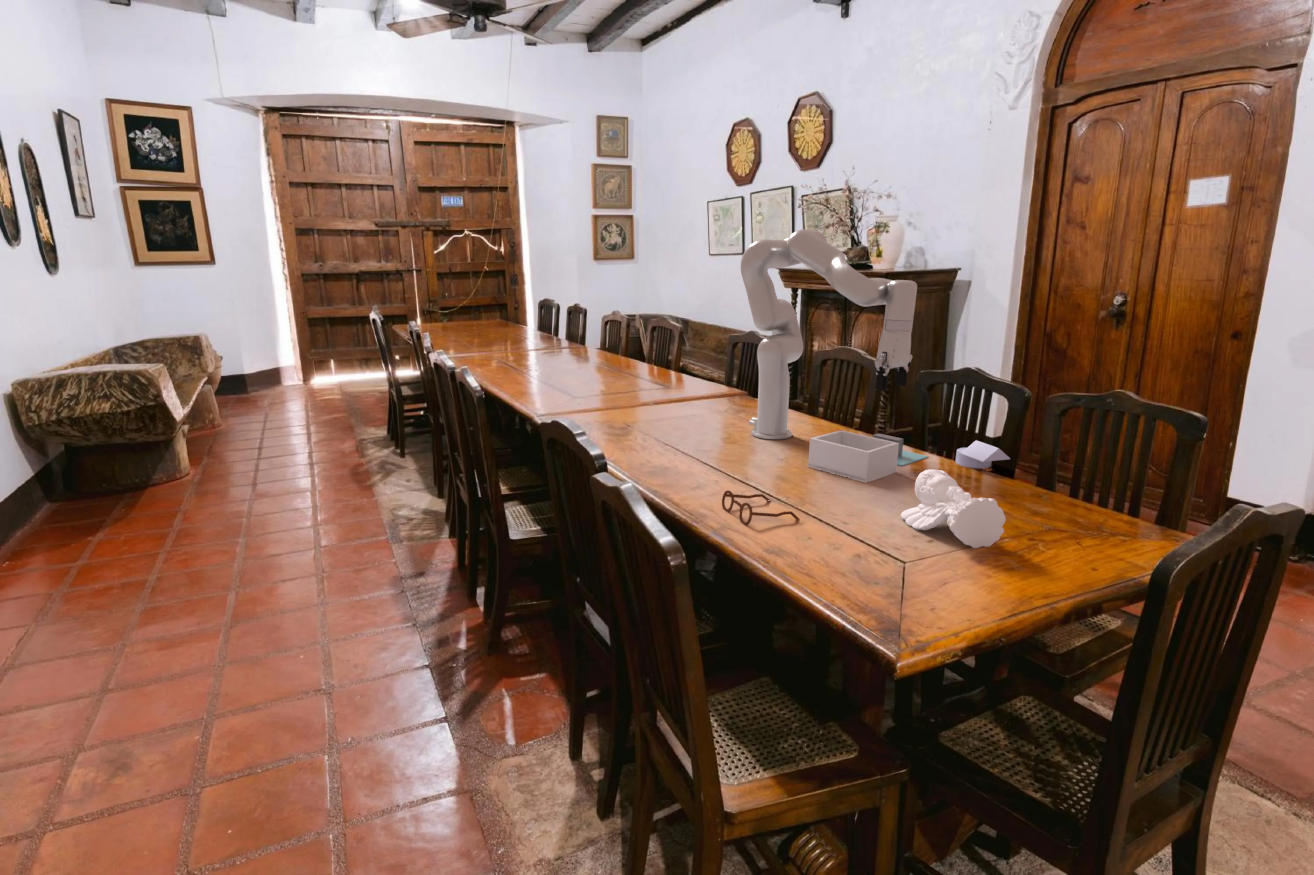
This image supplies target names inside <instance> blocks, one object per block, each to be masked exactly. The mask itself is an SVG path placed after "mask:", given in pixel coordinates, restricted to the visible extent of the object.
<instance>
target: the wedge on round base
mask: <svg viewBox="0 0 1314 875" xmlns="http://www.w3.org/2000/svg"><path fill="white" fill-rule="evenodd" d="M955 454H956V455H955V461H954V462H955V463H956V465H959V466H961V467H965V468H969V469H970V468H971V469H987V468H990V467H992V462H994V461H995V462H996V461H1005V460H1006V461H1007V460H1011V458H1010V457H1009V455H1007V454H1006V453H1005V452H1004V451H1003V450H1002V449H1000V448H999V447H996V446H994V445H992V444H987V443H986V442H982V441H979V440H977V439H976V440H975V441H973V442H972V443H971V444H970V445H969V446H968V447H967V446H966V447H960V448H957V449H956V453H955Z"/></svg>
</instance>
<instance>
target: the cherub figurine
mask: <svg viewBox="0 0 1314 875" xmlns="http://www.w3.org/2000/svg"><path fill="white" fill-rule="evenodd" d="M914 483H915V484H914V493H915V495H916V497H917V499H918V500H919V501H920V502H921V503H920V504H918V505H917V506H915V507H911V508H908V509H905V510H903V511H902V512H901V513H900V518H901V519H902V520H903V521H904V522H905V524H906V525H907V526H908V527H911V528H913V529H914V530H918V531H928V530H931V529H933V528H937V527H938V526H939V525H941V524H943V523H945V522H946V524H947V526H948V527H949V530H950V531H951V532H952V533H953V535H954V536H955V537H956V538H957V539H958V540H960V541H961V542H962V543H963V544H964V545H965V546H970V547H971V548H972V549H978V548H981V547H985V548H990V547H991V546H992V545H993V544H994V543H996V542H997V541H1000V538H1001V536H1002V535H1003V533H1005V529H1004V527H1003V526H1004V524H1005V522H1006V519H1007V518H1006V516H1005V514H1004V511H1003V509H1002V507H1000V506H999V505H998V502H997V500H996V499H995V498H987V497H978V498H977V497H972V495H971V493H970V492H966V491H965V490H964V489H963V488H962V487H960V485H959V484H958V482H957V481H956V480H955V479H954V478H953V477H952V476H950V475H949V474H948V473H947V472H946V471H945V470H941V469H940V470H938V469H932V468H931V469H925V470H924V471H922V472H920V473H919V474H918V476H917V477H916V479H915V482H914Z"/></svg>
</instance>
